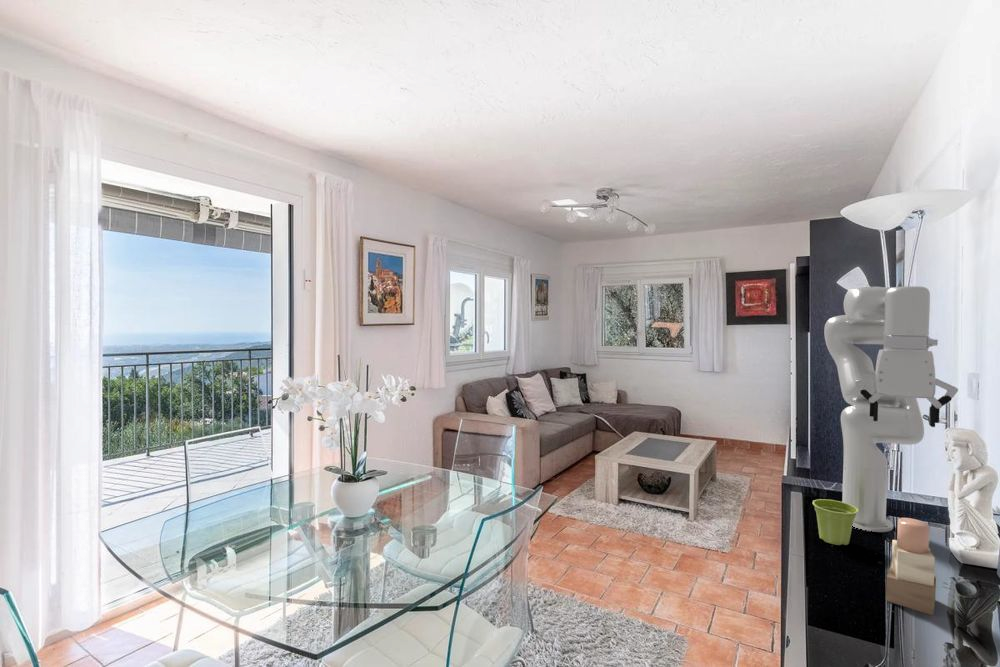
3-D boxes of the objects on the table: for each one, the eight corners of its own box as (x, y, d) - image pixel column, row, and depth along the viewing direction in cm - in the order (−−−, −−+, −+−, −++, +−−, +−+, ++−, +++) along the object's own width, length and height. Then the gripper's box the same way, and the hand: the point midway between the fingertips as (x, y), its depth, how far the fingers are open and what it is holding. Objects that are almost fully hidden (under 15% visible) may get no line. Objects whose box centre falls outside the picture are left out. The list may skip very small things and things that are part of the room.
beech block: (891, 566, 103) (892, 539, 102) (926, 573, 100) (927, 545, 100) (897, 578, 98) (897, 550, 98) (933, 586, 95) (934, 557, 95)
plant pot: (814, 529, 132) (815, 496, 132) (858, 539, 126) (859, 504, 126) (808, 541, 125) (809, 506, 124) (855, 553, 119) (856, 516, 118)
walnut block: (890, 587, 104) (891, 563, 104) (935, 600, 99) (936, 575, 99) (886, 601, 99) (886, 576, 99) (933, 616, 94) (934, 589, 94)
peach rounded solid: (897, 539, 102) (898, 515, 102) (928, 547, 99) (929, 522, 99) (896, 548, 98) (897, 523, 98) (928, 556, 95) (929, 530, 95)
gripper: (956, 344, 107) (953, 425, 108) (856, 342, 117) (854, 415, 118) (962, 346, 101) (959, 431, 102) (856, 343, 111) (854, 421, 112)
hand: (902, 423), depth 110 cm, fingers open, 9 cm apart
